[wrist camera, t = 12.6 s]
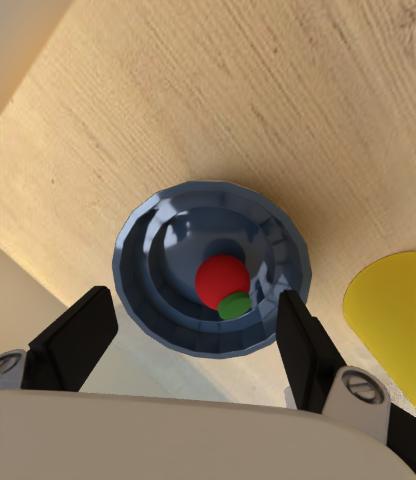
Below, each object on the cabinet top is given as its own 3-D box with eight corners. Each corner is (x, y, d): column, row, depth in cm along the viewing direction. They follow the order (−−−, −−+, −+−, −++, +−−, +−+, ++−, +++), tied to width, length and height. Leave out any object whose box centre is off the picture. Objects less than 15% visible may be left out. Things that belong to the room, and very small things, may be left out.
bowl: (129, 291, 21) (100, 325, 16) (159, 155, 16) (132, 148, 12) (253, 334, 21) (260, 380, 17) (318, 211, 17) (354, 226, 12)
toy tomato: (183, 281, 18) (199, 332, 15) (195, 242, 16) (218, 292, 12) (226, 278, 20) (249, 322, 17) (242, 243, 18) (274, 286, 14)
